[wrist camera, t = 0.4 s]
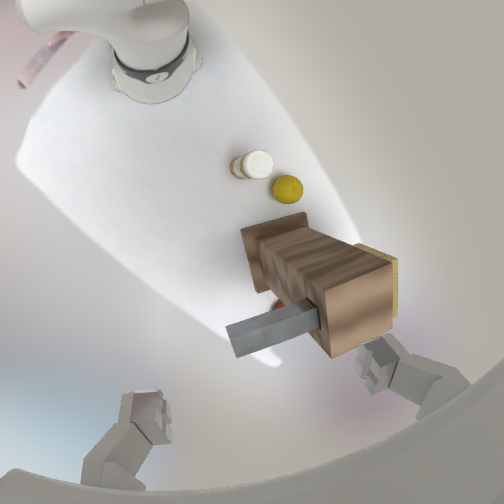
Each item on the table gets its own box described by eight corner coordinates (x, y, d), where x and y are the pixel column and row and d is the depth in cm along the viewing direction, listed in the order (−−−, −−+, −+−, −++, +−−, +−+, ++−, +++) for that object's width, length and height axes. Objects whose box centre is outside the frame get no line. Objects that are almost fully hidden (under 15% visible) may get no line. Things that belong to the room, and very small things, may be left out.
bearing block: (240, 229, 56) (305, 280, 28) (302, 212, 59) (402, 242, 31) (255, 290, 61) (318, 376, 33) (313, 271, 63) (401, 333, 35)
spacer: (351, 245, 41) (389, 262, 32) (359, 243, 41) (397, 258, 33) (355, 296, 44) (389, 319, 35) (363, 293, 44) (397, 315, 36)
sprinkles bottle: (255, 163, 54) (279, 158, 41) (245, 183, 54) (266, 184, 42) (235, 152, 52) (254, 144, 40) (225, 172, 53) (240, 170, 40)
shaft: (225, 326, 34) (229, 338, 31) (384, 266, 38) (397, 272, 35) (231, 344, 35) (236, 358, 32) (385, 283, 39) (398, 290, 36)
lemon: (296, 181, 57) (313, 182, 49) (286, 205, 58) (303, 210, 50) (272, 171, 55) (287, 170, 47) (263, 196, 56) (276, 199, 48)
